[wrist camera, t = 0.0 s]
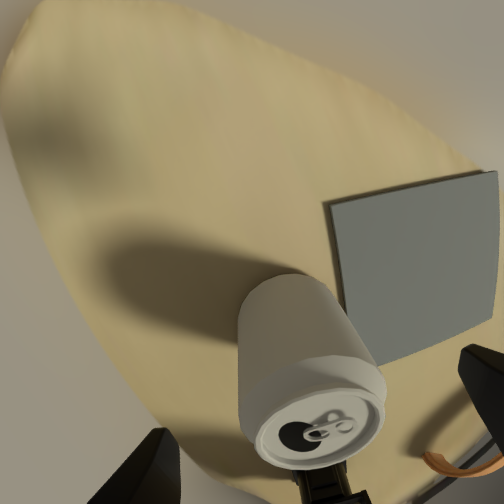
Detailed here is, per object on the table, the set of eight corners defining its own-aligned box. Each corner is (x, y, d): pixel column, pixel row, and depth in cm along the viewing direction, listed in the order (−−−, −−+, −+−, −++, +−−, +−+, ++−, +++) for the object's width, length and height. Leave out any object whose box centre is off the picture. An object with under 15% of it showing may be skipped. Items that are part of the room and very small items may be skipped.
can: (218, 300, 23) (204, 428, 11) (309, 249, 22) (375, 348, 10) (268, 368, 25) (285, 491, 13) (348, 325, 24) (411, 436, 12)
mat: (489, 315, 25) (491, 317, 24) (351, 371, 25) (352, 374, 25) (493, 170, 20) (497, 171, 20) (329, 204, 21) (331, 205, 20)
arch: (526, 364, 29) (563, 401, 19) (437, 458, 33) (460, 502, 24) (517, 352, 27) (559, 393, 18) (420, 455, 32) (444, 504, 23)
